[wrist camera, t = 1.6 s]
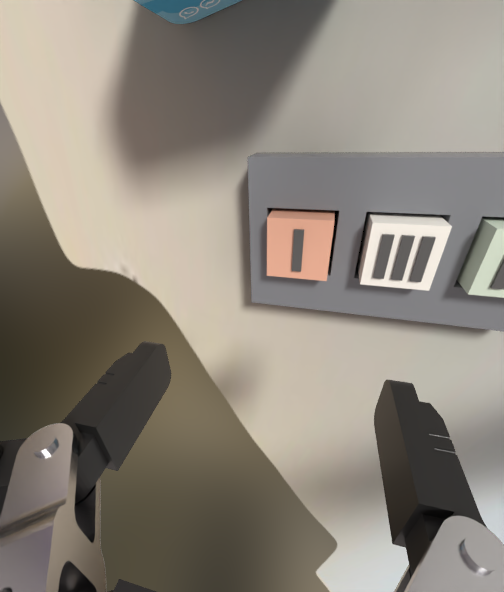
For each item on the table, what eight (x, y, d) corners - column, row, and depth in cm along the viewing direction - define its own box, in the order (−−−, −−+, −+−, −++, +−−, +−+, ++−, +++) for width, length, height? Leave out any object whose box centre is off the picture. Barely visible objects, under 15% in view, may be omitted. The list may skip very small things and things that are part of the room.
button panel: (607, 152, 17) (653, 157, 15) (515, 312, 24) (536, 335, 21) (257, 152, 22) (247, 157, 19) (258, 286, 28) (251, 302, 26)
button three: (437, 213, 20) (453, 227, 17) (418, 271, 22) (429, 292, 20) (368, 210, 21) (373, 223, 18) (357, 266, 23) (360, 285, 21)
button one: (334, 209, 21) (334, 221, 19) (327, 264, 24) (326, 282, 21) (274, 206, 22) (266, 218, 20) (273, 260, 25) (266, 276, 22)
